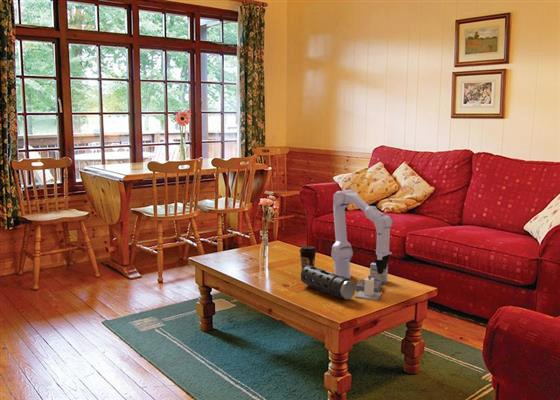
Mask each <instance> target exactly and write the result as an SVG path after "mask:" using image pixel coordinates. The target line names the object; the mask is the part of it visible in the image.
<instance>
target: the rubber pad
mask: <svg viewBox="0 0 560 400" xmlns="http://www.w3.org/2000/svg"><path fill="white" fill-rule="evenodd" d="M382 295H383V292H382V291H379V292H374V294H373V295H372V296H369V295H364V291H363V290H360V291H357V293H356V295H354V296H355V297H354V298H357V299H362V300H363V299H365V300H370V301H379V299H380V297H382Z"/></svg>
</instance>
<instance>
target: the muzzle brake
mask: <svg viewBox="0 0 560 400" xmlns="http://www.w3.org/2000/svg"><path fill="white" fill-rule="evenodd" d="M301 270H302V269H301ZM307 271H308V272H307ZM300 280H301V282H302V283H303V284H305V285H307V286H308V287H309V288H312V289H315V290H316V291H319V292H323V293H327V294H330V295H332V297H333V298H335V299H340V300H342V301H343V300H348V301H349V300H350V299H352V298H353V297H354V296H355V294H356V292H357V291H356V284H355V282H354V281H353V280H352V279H351V278H350V279H349V278H346V277H343V276H339V275H336V274H334V273H333V272H330V271H327V270H324V269H322V268H319V267H316V266H315V265H314V266H311V265H308V266H306V267H305V268H304V269H303V270H302V271H301V272H300Z"/></svg>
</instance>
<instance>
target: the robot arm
mask: <svg viewBox="0 0 560 400" xmlns="http://www.w3.org/2000/svg"><path fill="white" fill-rule="evenodd" d="M351 204H352V205H354V206H355V207H357V208H358V209H360V210H362V211H363V212H364V216H365V217H367V219H369V220H370V221H371V222H372V223H373V224H374V227H375V231H376V243H375V244H376V245H375V246H376V249H375V250H376V251H375V254H376V257H374V258H373V261H374V263H376V266H377V272H378V274H383V271H384V269H386V267H387V264H389V263H388V262H389V259H390V258H391V255H392V254H393V253H392V251H390V238H391V237H390V233H391V232H390V231H391V228H392V226H393V225H394V222H393V218H392V217H391V216H390V215H389V214H384V212H381V211H380V210H379V209H377V206H375V205H374V206H373V205H369V204H368V203H367V202H365V200H363V199H362V198H361V196H359V193H358V192H357V191H355V190H354V189H353V188H352V189H351V188H350V189H347V190H338V191H337V190H336V192H335V193H334V194H333V204H332V206H333V207H332V211H333V222H334V233H335V234H334V237H335V242H334V243H333V245H332V246H331V255H330V256H331V258H332V260H333V262H334V264H333V265H334V267H333V269H334V271H333V272H334V273H333V274H336V275H339V276H343V277H346V278H349V279H351V278H352V276H353V275H352V274H351V262H350V261H351V259H352V257H353V255H354V252H353V251H354V250H353V249H352V244H351V243H350V242H349V241H348V236H347V235H348V234H347V224H346V212H345V211H346V210H345V209H347V207H348V206H349V205H351Z"/></svg>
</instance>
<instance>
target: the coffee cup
mask: <svg viewBox="0 0 560 400" xmlns="http://www.w3.org/2000/svg"><path fill="white" fill-rule="evenodd" d="M299 253H300V254H299V255H300V256H299V259H300V266H301V270H300V271H301V272H302V270H303V269H304V268H305V267H306V266H308V265H311V266H314V267H315V263H316V254H317V249H316V247H315V246H310V245H303V246H301V247H300V249H299ZM307 272H308V271H307Z"/></svg>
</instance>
